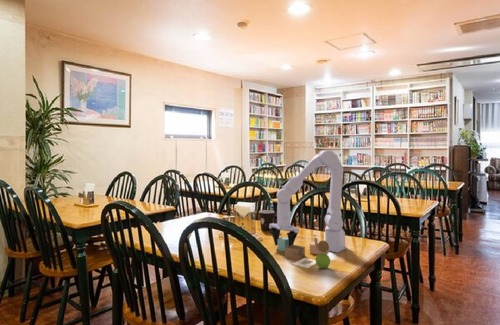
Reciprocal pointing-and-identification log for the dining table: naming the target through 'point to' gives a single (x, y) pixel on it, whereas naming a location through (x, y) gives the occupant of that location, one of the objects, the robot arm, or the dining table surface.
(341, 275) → the dining table surface
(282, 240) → the teal brick
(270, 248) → the dining table surface
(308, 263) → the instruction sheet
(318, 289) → the dining table surface
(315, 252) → the terracotta brick
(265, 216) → the coffee mug
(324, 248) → the snail figurine
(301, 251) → the walnut base brick
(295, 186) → the robot arm
